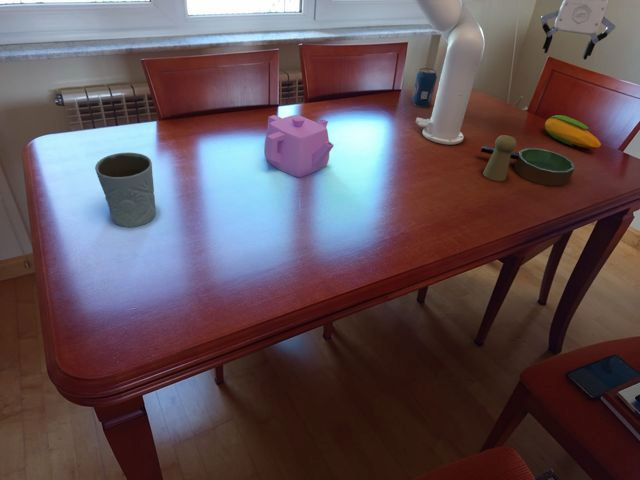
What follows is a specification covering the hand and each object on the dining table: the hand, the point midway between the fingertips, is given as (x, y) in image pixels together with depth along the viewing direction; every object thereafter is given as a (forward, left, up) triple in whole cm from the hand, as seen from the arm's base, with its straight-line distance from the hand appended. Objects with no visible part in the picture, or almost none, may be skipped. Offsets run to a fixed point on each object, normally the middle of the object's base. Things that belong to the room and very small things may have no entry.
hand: (564, 55), depth 116 cm
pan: (-1, -14, -28) cm, 31 cm away
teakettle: (-57, -42, -28) cm, 76 cm away
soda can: (-37, +23, -28) cm, 52 cm away
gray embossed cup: (-77, -81, -28) cm, 115 cm away
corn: (+13, +14, -28) cm, 34 cm away
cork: (-8, -22, -28) cm, 37 cm away
